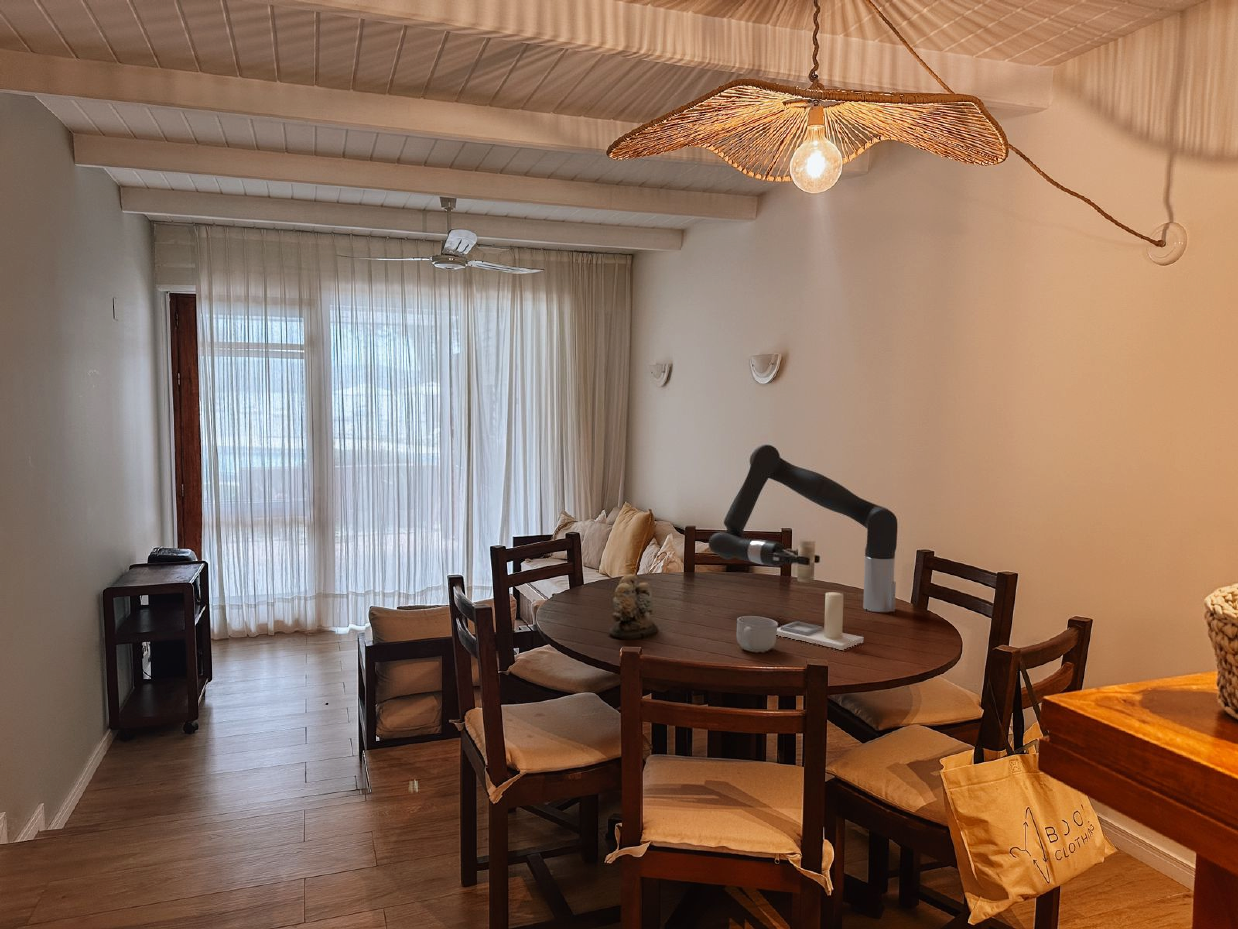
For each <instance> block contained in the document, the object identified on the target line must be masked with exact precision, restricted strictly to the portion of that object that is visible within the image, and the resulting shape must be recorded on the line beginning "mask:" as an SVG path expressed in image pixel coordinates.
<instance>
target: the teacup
mask: <svg viewBox="0 0 1238 929" xmlns="http://www.w3.org/2000/svg"><path fill="white" fill-rule="evenodd" d="M736 623H737V624H736V641H737V643H738V644H739V646H741V647H742V649H743V650H744V651H748V652H751V653H759V652H761V653H766V652H765V651H767V652H768V651H769V650H771V649H773V648H774V647H775V644H776V642H777V636H776V635H777V628H778V626H779V623H778V622H777V621H776V620H774V619H772V618H768V617H763V616H757V615H756V616H755V615H743V616H740V617H737V618H736Z"/></svg>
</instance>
